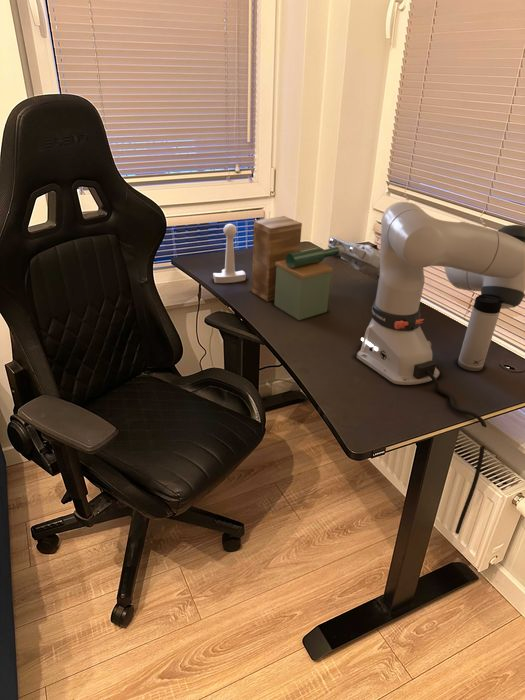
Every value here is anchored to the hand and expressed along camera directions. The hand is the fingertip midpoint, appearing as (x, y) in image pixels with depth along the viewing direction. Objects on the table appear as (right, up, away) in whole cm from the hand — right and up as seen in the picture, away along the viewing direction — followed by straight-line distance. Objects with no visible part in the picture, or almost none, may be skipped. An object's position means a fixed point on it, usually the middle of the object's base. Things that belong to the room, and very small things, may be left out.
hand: (341, 244), depth 158 cm
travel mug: (+31, -37, -24) cm, 54 cm away
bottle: (-8, -6, -3) cm, 11 cm away
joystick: (-37, -8, +21) cm, 43 cm away
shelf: (-21, -14, +12) cm, 27 cm away
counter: (-13, -20, +2) cm, 24 cm away
